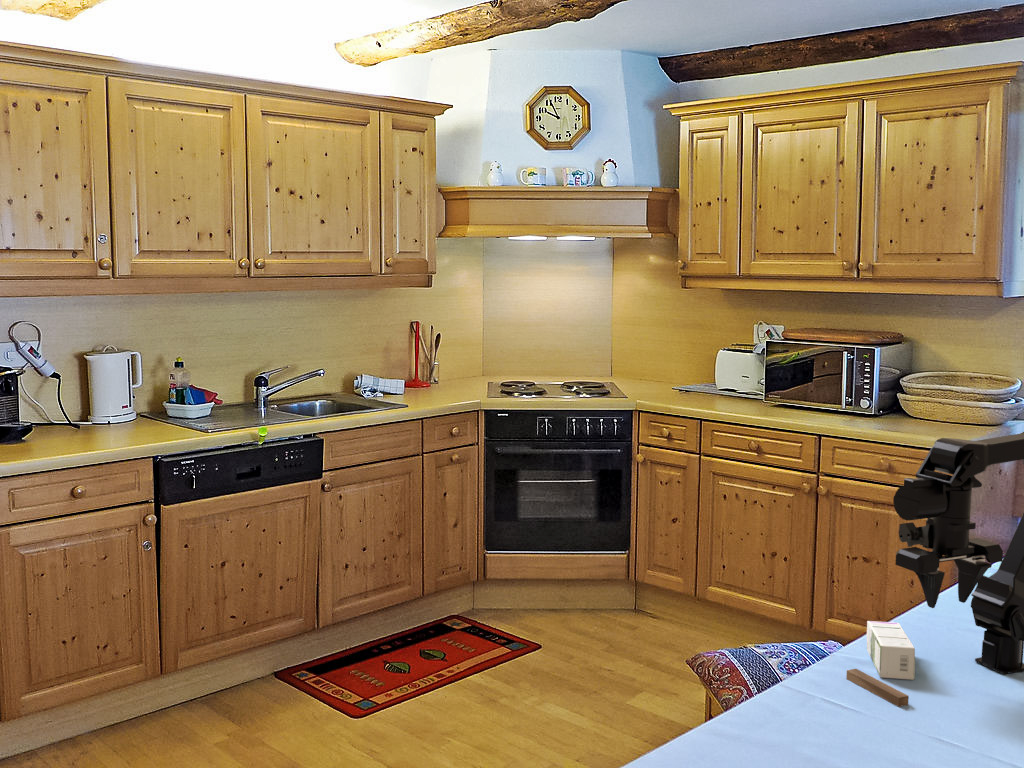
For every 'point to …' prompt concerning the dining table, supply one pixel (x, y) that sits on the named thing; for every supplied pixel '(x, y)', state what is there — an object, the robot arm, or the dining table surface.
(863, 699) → the dining table surface
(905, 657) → the syrup box
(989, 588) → the robot arm
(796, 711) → the dining table surface
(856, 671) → the strip
